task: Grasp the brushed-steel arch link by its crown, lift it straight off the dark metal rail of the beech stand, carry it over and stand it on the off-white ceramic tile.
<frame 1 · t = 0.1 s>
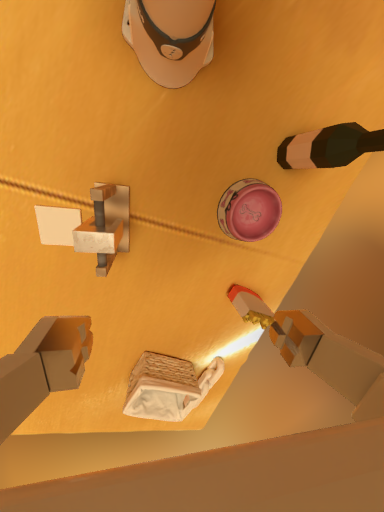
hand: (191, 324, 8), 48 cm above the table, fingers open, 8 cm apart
rail stand: (113, 219, 51), on the table
dog bowl: (245, 211, 58), on the table
wine bottle: (289, 153, 53), on the table
chain: (202, 377, 86), on the table
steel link: (108, 225, 45), point 7 cm above the table, touching rail stand
ceramic tile: (61, 226, 50), on the table
storage basket: (161, 366, 78), on the table
french fries container: (239, 291, 70), on the table
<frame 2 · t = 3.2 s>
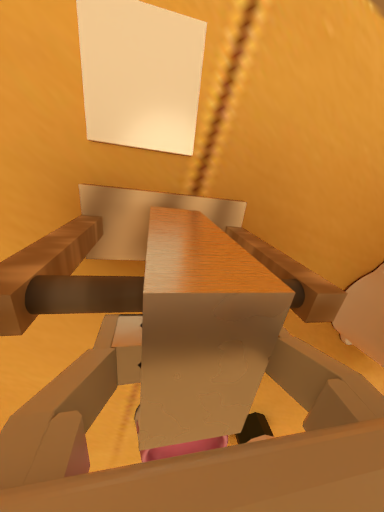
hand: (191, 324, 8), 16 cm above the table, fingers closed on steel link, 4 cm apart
rail stand: (167, 227, 23), on the table
dog bowl: (181, 408, 39), on the table
wine bottle: (248, 422, 46), on the table
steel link: (172, 247, 17), point 7 cm above the table, touching gripper, rail stand
ceramic tile: (144, 87, 17), on the table
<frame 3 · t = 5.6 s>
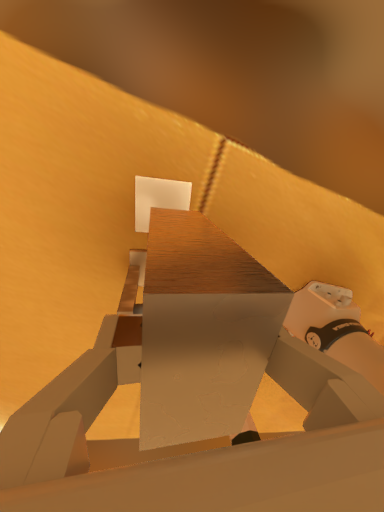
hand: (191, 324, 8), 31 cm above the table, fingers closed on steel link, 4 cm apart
rail stand: (172, 268, 42), on the table
wine bottle: (228, 391, 65), on the table
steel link: (172, 247, 17), point 22 cm above the table, touching gripper
ceramic tile: (162, 207, 36), on the table
when the fingers open (11 cm above the table, at t = 8.2 s): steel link stays where it is, resting on ceramic tile.
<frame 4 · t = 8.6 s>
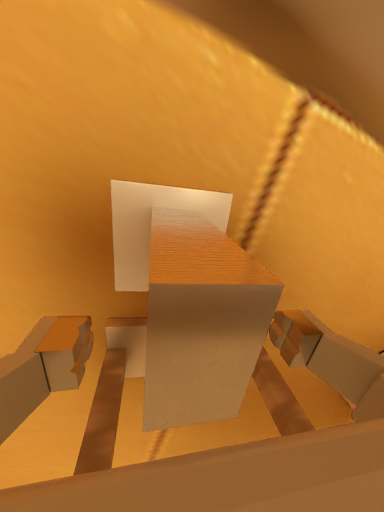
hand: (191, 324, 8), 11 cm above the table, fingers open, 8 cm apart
rail stand: (186, 341, 24), on the table
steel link: (172, 246, 17), point 1 cm above the table, touching ceramic tile
ceramic tile: (170, 242, 18), on the table
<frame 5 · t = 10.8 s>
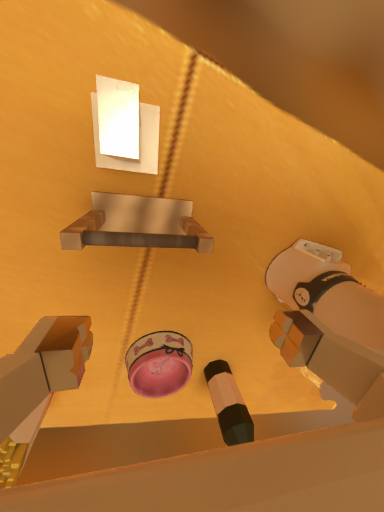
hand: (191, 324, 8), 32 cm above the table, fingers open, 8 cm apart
rail stand: (144, 217, 37), on the table
dog bowl: (160, 355, 53), on the table
wine bottle: (215, 368, 61), on the table
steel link: (128, 138, 31), point 1 cm above the table, touching ceramic tile
ceramic tile: (127, 138, 31), on the table
french fries container: (47, 380, 48), on the table
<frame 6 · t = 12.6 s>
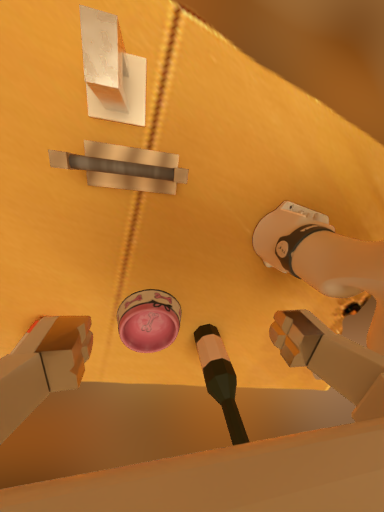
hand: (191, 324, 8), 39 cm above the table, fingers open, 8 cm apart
rail stand: (134, 169, 40), on the table
dog bowl: (150, 314, 56), on the table
wine bottle: (205, 333, 63), on the table
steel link: (117, 89, 34), point 1 cm above the table, touching ceramic tile
ceramic tile: (117, 89, 34), on the table
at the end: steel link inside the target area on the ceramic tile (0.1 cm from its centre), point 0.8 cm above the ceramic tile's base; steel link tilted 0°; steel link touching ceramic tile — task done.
